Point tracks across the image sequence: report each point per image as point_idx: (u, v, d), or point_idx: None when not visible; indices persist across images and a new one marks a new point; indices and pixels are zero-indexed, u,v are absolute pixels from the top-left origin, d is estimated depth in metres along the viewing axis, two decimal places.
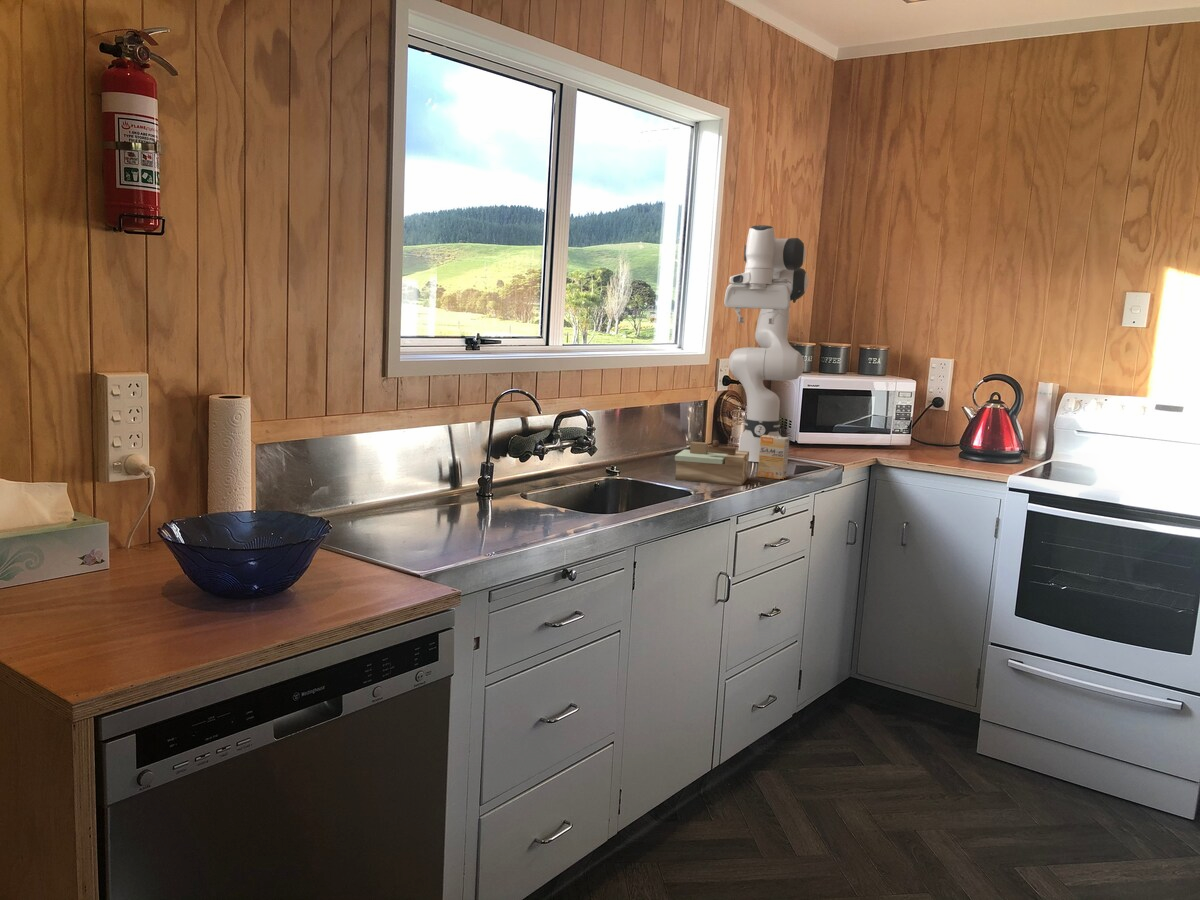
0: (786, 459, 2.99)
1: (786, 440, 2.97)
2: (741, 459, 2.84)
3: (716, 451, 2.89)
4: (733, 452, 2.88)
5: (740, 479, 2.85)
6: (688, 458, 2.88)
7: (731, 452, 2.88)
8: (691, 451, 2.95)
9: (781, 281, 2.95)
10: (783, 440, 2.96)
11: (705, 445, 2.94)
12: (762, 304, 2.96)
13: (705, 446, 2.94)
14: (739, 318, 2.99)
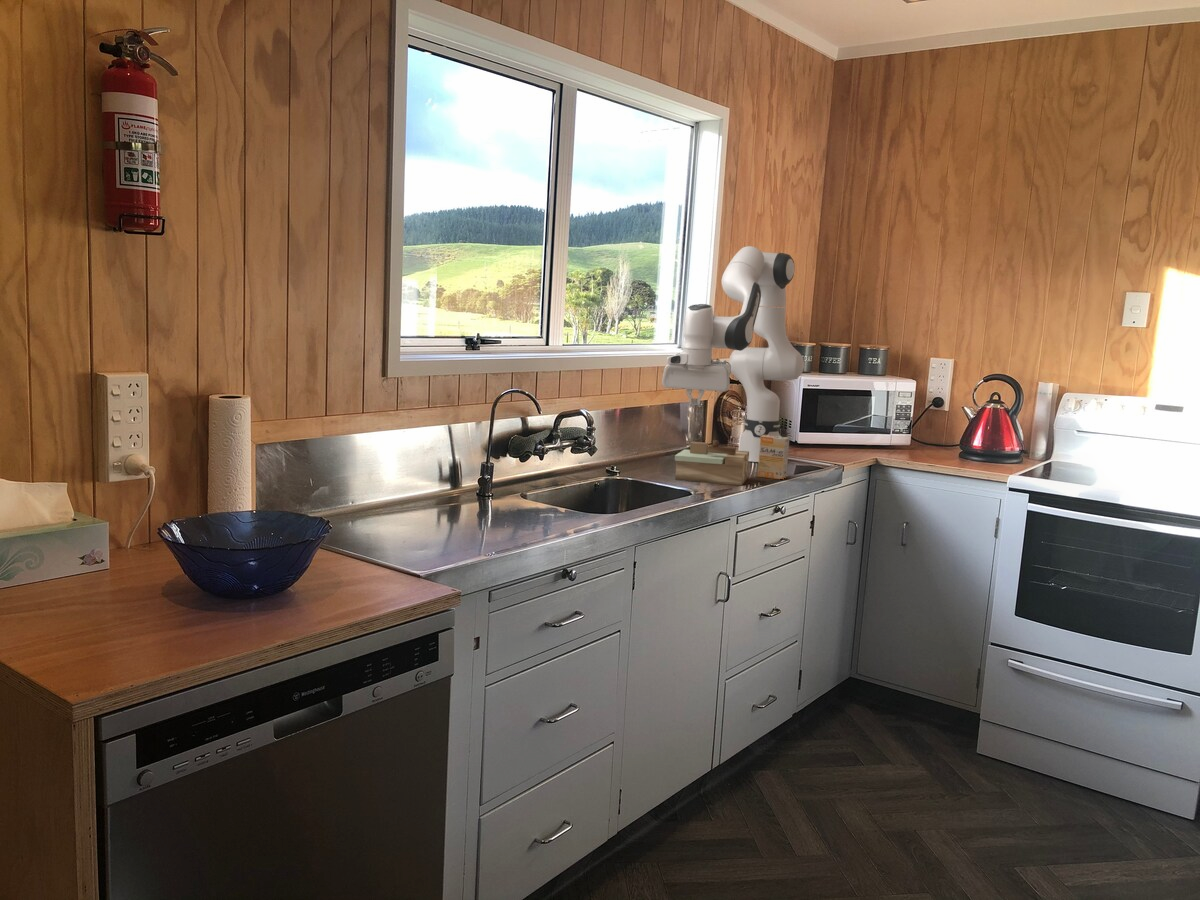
0: (786, 459, 2.99)
1: (786, 440, 2.97)
2: (741, 459, 2.84)
3: (716, 451, 2.89)
4: (733, 452, 2.88)
5: (740, 479, 2.85)
6: (688, 458, 2.88)
7: (731, 452, 2.88)
8: (691, 451, 2.95)
9: (720, 362, 2.86)
10: (783, 440, 2.96)
11: (705, 445, 2.94)
12: (700, 386, 2.87)
13: (705, 446, 2.94)
14: (690, 400, 2.89)
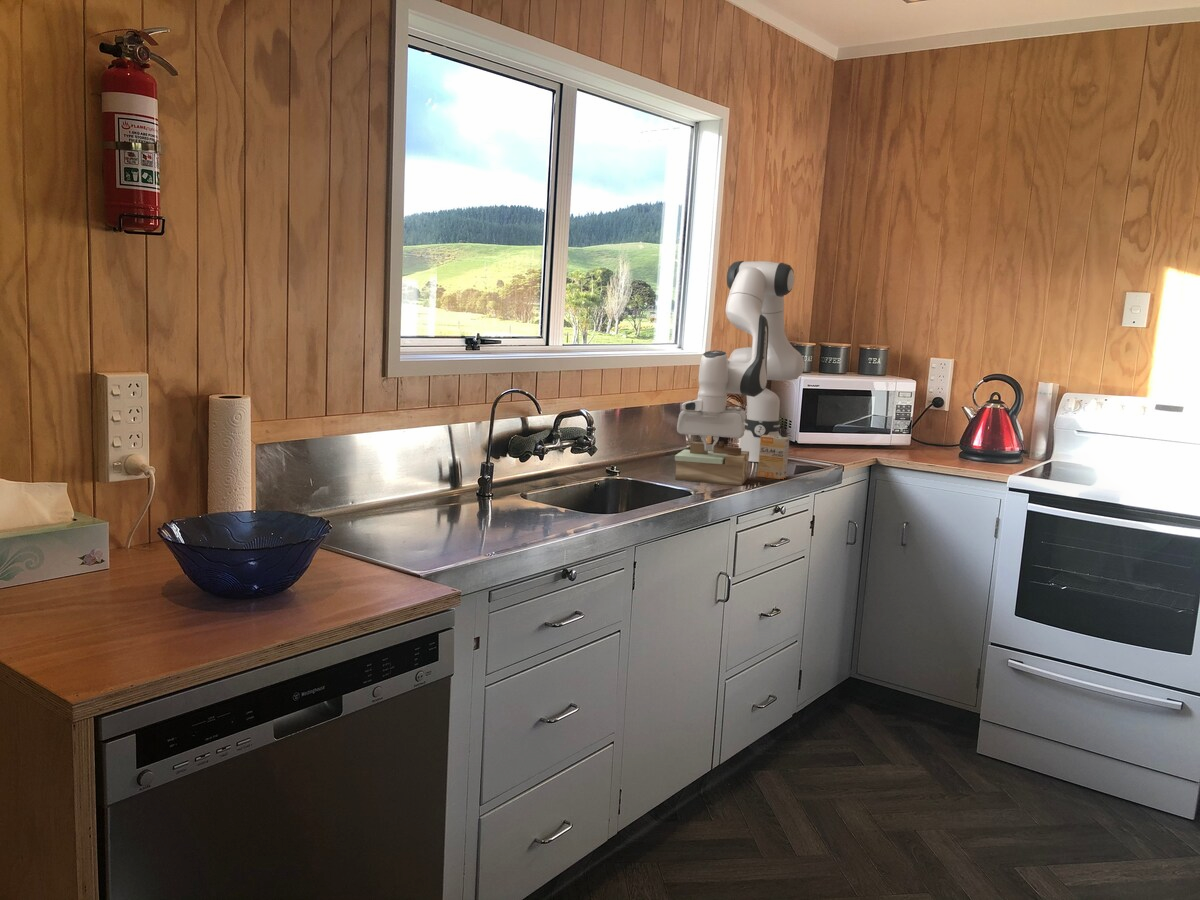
0: (786, 459, 2.99)
1: (786, 440, 2.97)
2: (741, 459, 2.84)
3: (721, 451, 2.89)
4: (739, 452, 2.87)
5: (740, 479, 2.85)
6: (688, 458, 2.88)
7: (737, 452, 2.87)
8: (691, 451, 2.95)
9: (734, 409, 2.87)
10: (783, 440, 2.96)
11: None
12: (715, 432, 2.88)
13: None
14: (705, 446, 2.90)
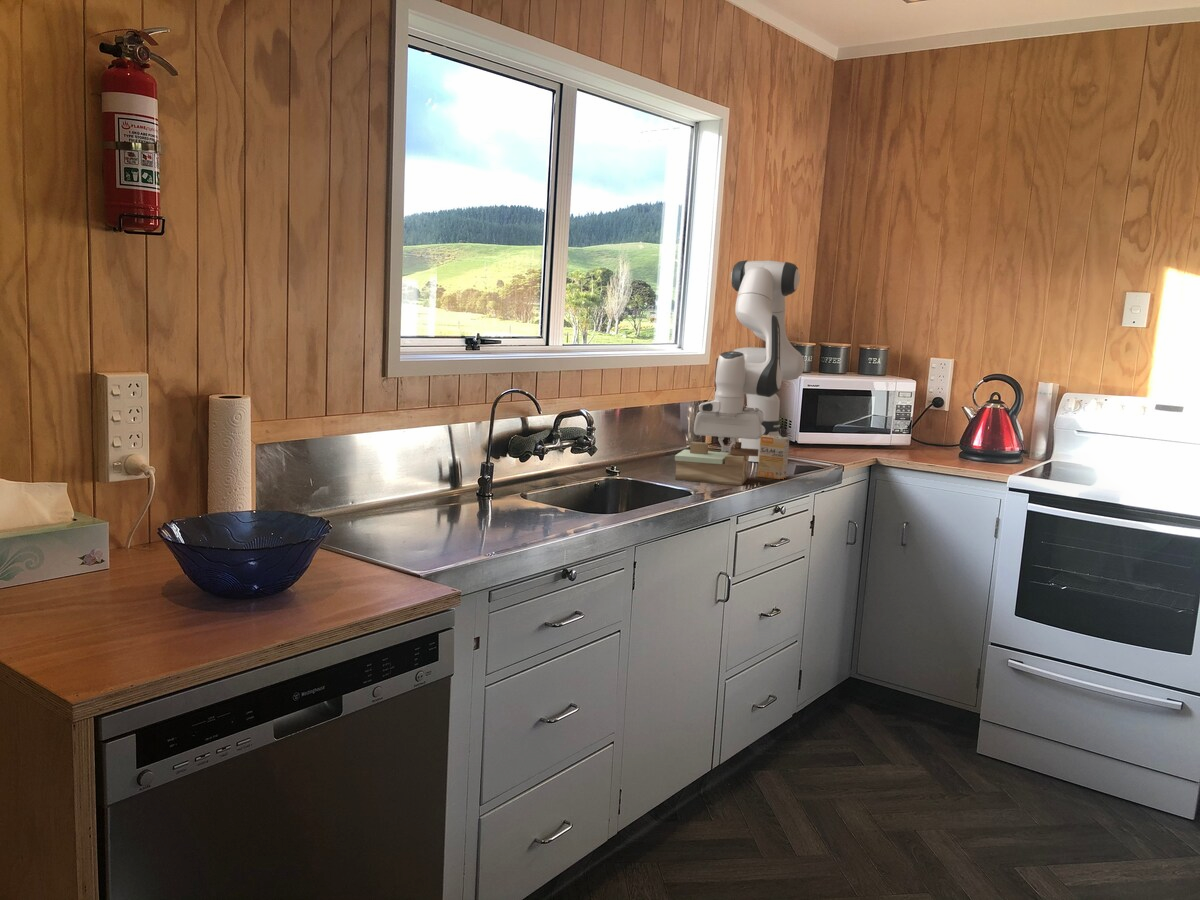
0: (786, 459, 2.99)
1: (786, 440, 2.97)
2: (741, 459, 2.84)
3: (739, 453, 2.87)
4: (756, 454, 2.86)
5: (740, 479, 2.85)
6: (688, 458, 2.88)
7: (754, 454, 2.86)
8: (691, 451, 2.95)
9: (752, 410, 2.85)
10: (783, 440, 2.96)
11: (705, 445, 2.94)
12: (732, 433, 2.86)
13: (705, 446, 2.94)
14: (722, 447, 2.89)
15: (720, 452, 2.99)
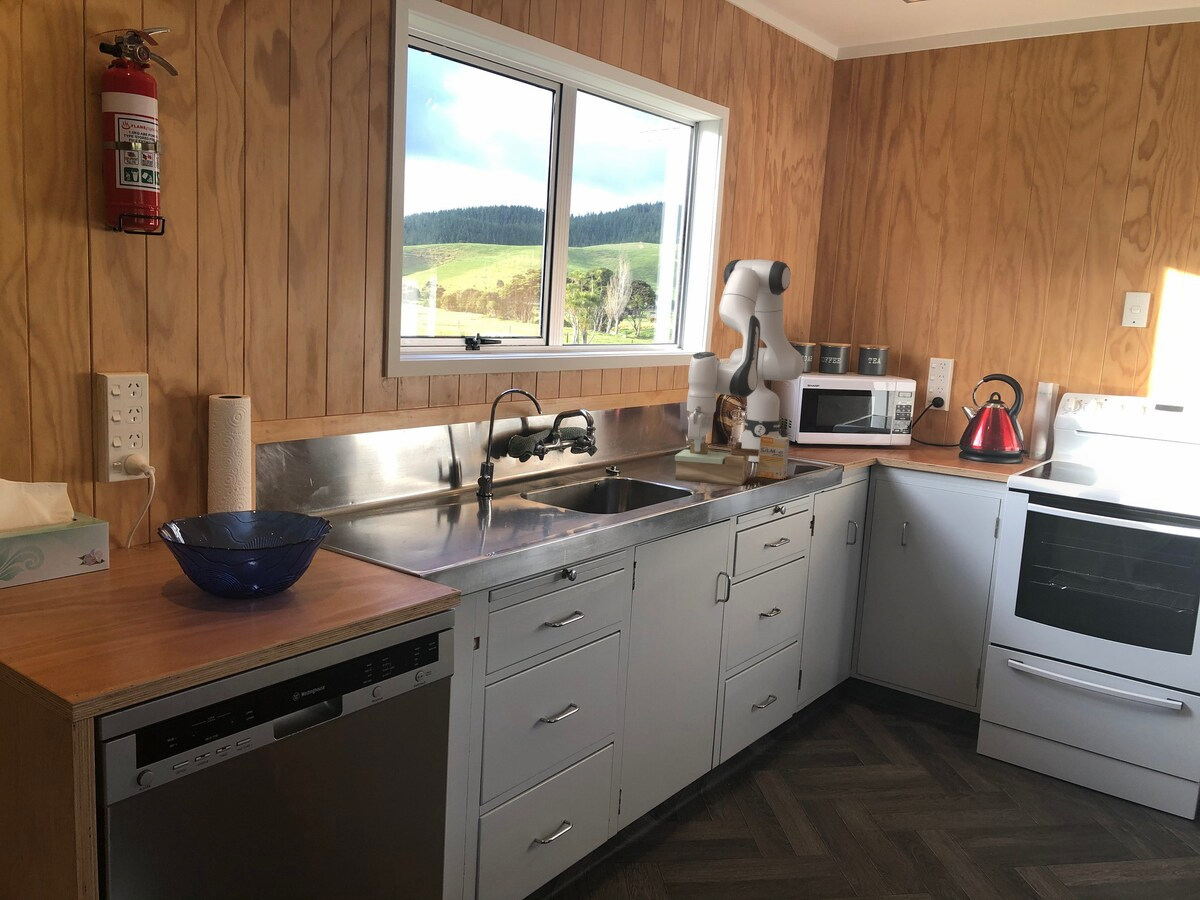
0: (786, 459, 2.99)
1: (786, 440, 2.97)
2: (741, 459, 2.84)
3: (739, 453, 2.87)
4: (756, 454, 2.86)
5: (740, 479, 2.85)
6: (688, 458, 2.88)
7: (754, 454, 2.86)
8: (691, 451, 2.95)
9: None
10: (783, 440, 2.96)
11: (705, 445, 2.94)
12: None
13: (705, 446, 2.94)
14: None
15: (720, 452, 2.99)
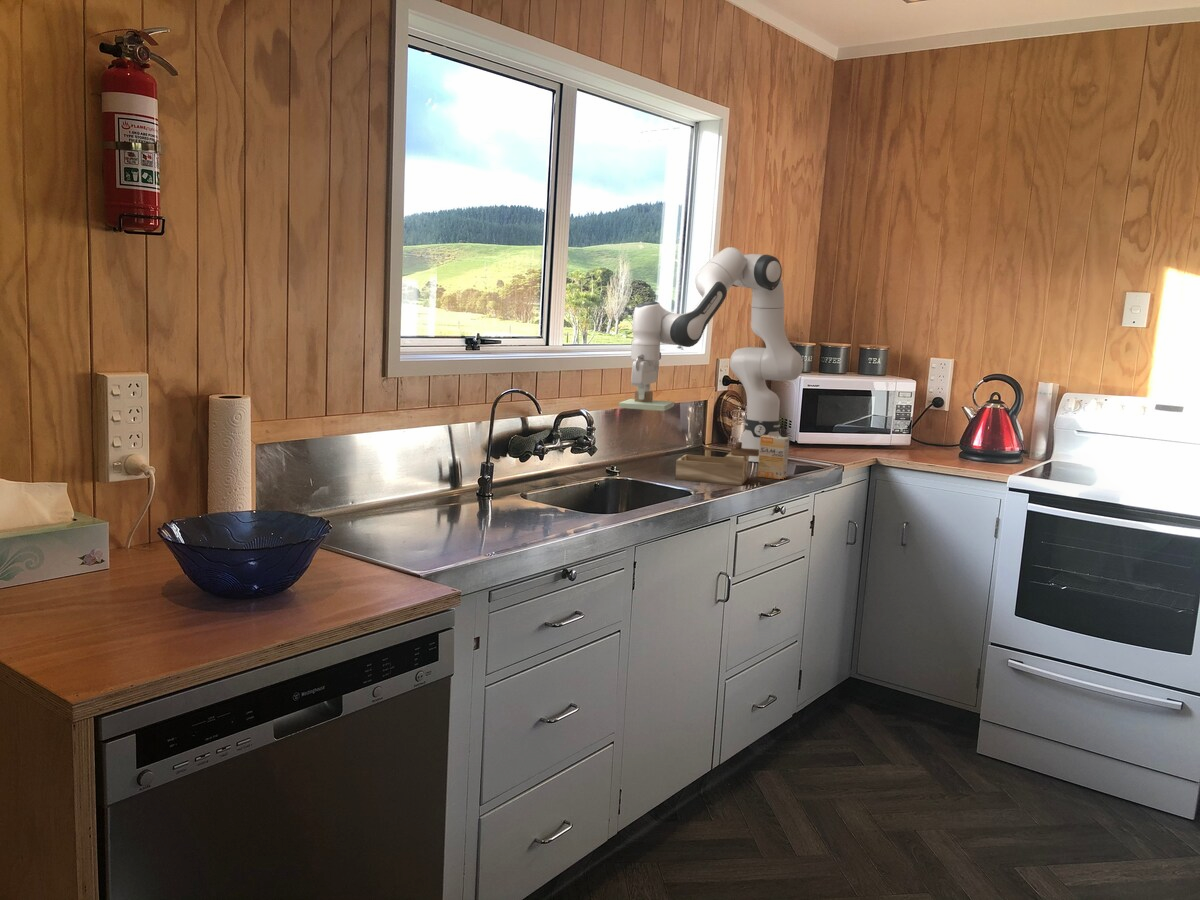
0: (786, 459, 2.99)
1: (786, 440, 2.97)
2: (741, 459, 2.84)
3: (739, 453, 2.87)
4: (756, 454, 2.86)
5: (740, 479, 2.85)
6: (631, 405, 2.93)
7: (754, 454, 2.86)
8: (636, 399, 3.00)
9: None
10: (783, 440, 2.96)
11: (649, 393, 2.98)
12: None
13: (649, 394, 2.98)
14: None
15: (665, 401, 3.04)
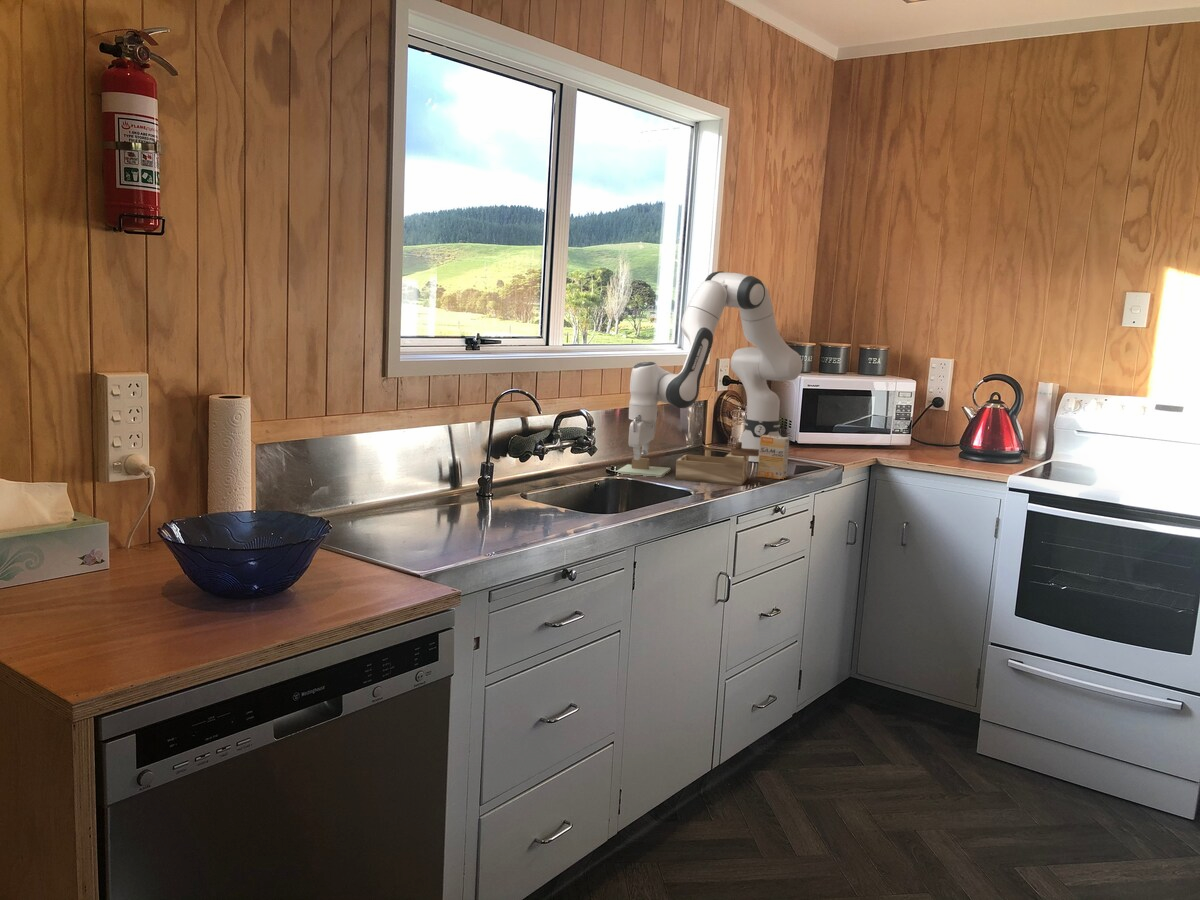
0: (786, 459, 2.99)
1: (786, 440, 2.97)
2: (741, 459, 2.84)
3: (739, 453, 2.87)
4: (756, 454, 2.86)
5: (740, 479, 2.85)
6: (629, 473, 2.97)
7: (754, 454, 2.86)
8: (633, 466, 3.03)
9: None
10: (783, 440, 2.96)
11: (646, 461, 3.02)
12: None
13: (646, 461, 3.02)
14: None
15: (662, 467, 3.07)
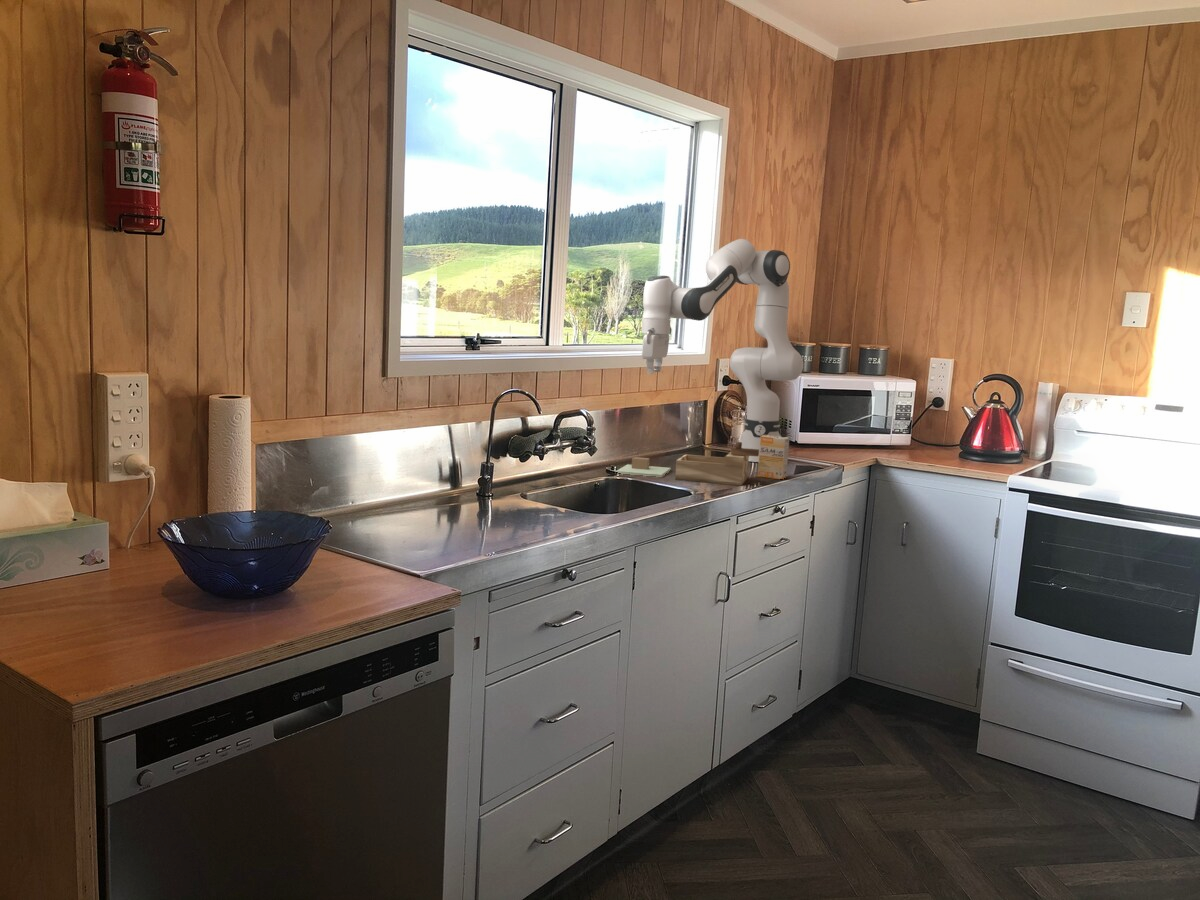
0: (786, 459, 2.99)
1: (786, 440, 2.97)
2: (741, 459, 2.84)
3: (739, 453, 2.87)
4: (756, 454, 2.86)
5: (740, 479, 2.85)
6: (629, 473, 2.97)
7: (754, 454, 2.86)
8: (633, 466, 3.03)
9: None
10: (783, 440, 2.96)
11: (646, 460, 3.02)
12: None
13: (646, 461, 3.02)
14: None
15: (662, 467, 3.07)
